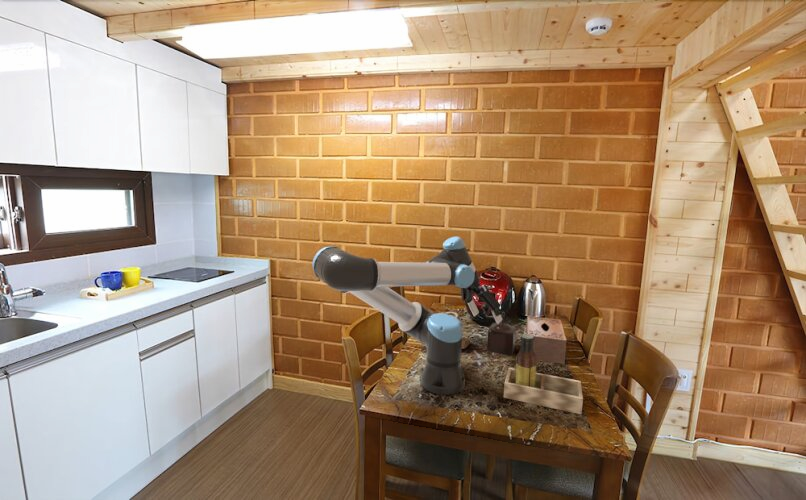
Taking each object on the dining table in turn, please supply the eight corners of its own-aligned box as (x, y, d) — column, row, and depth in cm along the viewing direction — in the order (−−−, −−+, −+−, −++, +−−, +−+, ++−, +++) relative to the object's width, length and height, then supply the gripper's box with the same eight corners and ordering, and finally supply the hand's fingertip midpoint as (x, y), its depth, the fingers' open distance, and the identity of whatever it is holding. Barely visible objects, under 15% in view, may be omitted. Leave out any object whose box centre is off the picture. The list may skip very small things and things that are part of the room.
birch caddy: (503, 397, 122) (504, 383, 121) (507, 380, 133) (508, 367, 132) (581, 414, 113) (582, 399, 113) (579, 395, 124) (580, 381, 124)
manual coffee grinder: (515, 346, 163) (518, 306, 161) (511, 356, 153) (514, 313, 151) (480, 339, 170) (482, 301, 167) (474, 348, 160) (476, 308, 157)
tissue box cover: (525, 336, 176) (527, 315, 174) (559, 340, 172) (560, 319, 170) (525, 358, 152) (527, 335, 150) (564, 364, 147) (566, 340, 146)
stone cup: (430, 349, 158) (431, 315, 156) (436, 339, 169) (437, 307, 167) (466, 354, 154) (468, 319, 151) (469, 343, 165) (471, 311, 163)
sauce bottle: (530, 387, 128) (535, 332, 125) (537, 397, 122) (542, 339, 119) (511, 387, 128) (515, 332, 125) (517, 397, 122) (522, 339, 119)
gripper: (496, 272, 135) (516, 318, 141) (454, 265, 156) (473, 306, 163) (482, 284, 132) (504, 331, 138) (441, 275, 153) (461, 316, 160)
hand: (487, 317), depth 151 cm, fingers open, 13 cm apart
